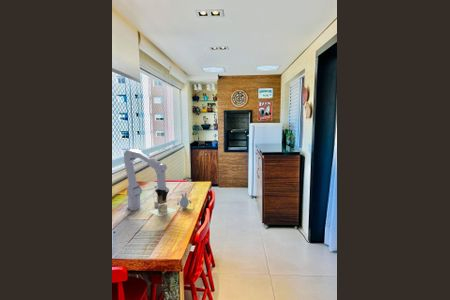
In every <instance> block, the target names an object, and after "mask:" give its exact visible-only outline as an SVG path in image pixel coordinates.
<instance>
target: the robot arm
mask: <svg viewBox="0 0 450 300" xmlns="http://www.w3.org/2000/svg"><path fill="white" fill-rule="evenodd" d="M123 157H124V160H123V161H124V167H125V172H126V175H127V181H128V185H127V187H126V196H127V207H126V209H128V210H131V211H135V210H138V209H142V208H144V206H141V194H142V192H143V190H142V187H141V185H140V184H139V183H138V182H137V181H138V180H137V177H136V176H137V175H136V172H135V168H134V167H135V166H134V162H135V160H136V159H137V158H138V159H139V160H142V161H144V162H145V163H147V166H148V167H150V168H152V169H153V170H154V171H155V173H156V185H154V190H155V193H156V194H157V196H161V195H162V199H163V201H165V200H166V199H167V198H168V197H167V196H168V194H169V192H170V188H168V187H167V183H166V170H167V168H168V167H167V164H166V163H164V162H160V161H158V160H156V158H155V157H151V158H150V157H149V156H147V154H145V153H144V152H142V150H141V149H138V148H133V149H126V150H125V151H124V152H123Z"/></svg>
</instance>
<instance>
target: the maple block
mask: <svg viewBox="0 0 450 300" xmlns="http://www.w3.org/2000/svg"><path fill="white" fill-rule="evenodd" d="M167 207H168V205H167V203H163V204H160V205H158V207H157V209H158V211H159V212H161V213H163V212H166V211H167Z"/></svg>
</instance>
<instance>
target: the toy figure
mask: <svg viewBox="0 0 450 300" xmlns="http://www.w3.org/2000/svg"><path fill="white" fill-rule="evenodd" d="M192 203H193V201H192V200H191V199H190V200H189V199H188V197H187V192H185V193H181V198H180V201H178V202H177V204H176V205H177V206H179V205H180V207H182V208H181V210H187V209H188V206H189V204H192Z"/></svg>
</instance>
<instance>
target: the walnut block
mask: <svg viewBox="0 0 450 300" xmlns="http://www.w3.org/2000/svg"><path fill="white" fill-rule="evenodd" d="M156 201H157V203H160V204H163V203H164V204H167V198H166V200H165V201H163V199H162V195H161V196H158V195H157V197H156Z"/></svg>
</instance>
